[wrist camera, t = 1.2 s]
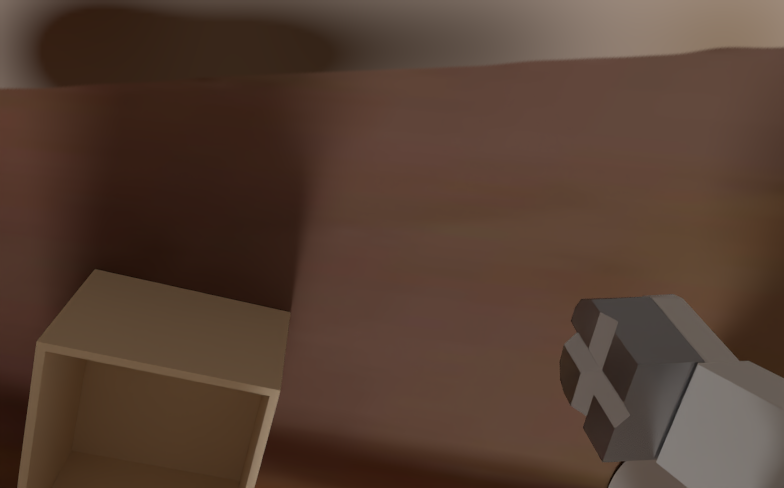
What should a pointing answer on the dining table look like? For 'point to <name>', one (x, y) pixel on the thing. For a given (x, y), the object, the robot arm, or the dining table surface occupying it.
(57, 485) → the carton
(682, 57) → the dining table surface
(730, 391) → the robot arm
